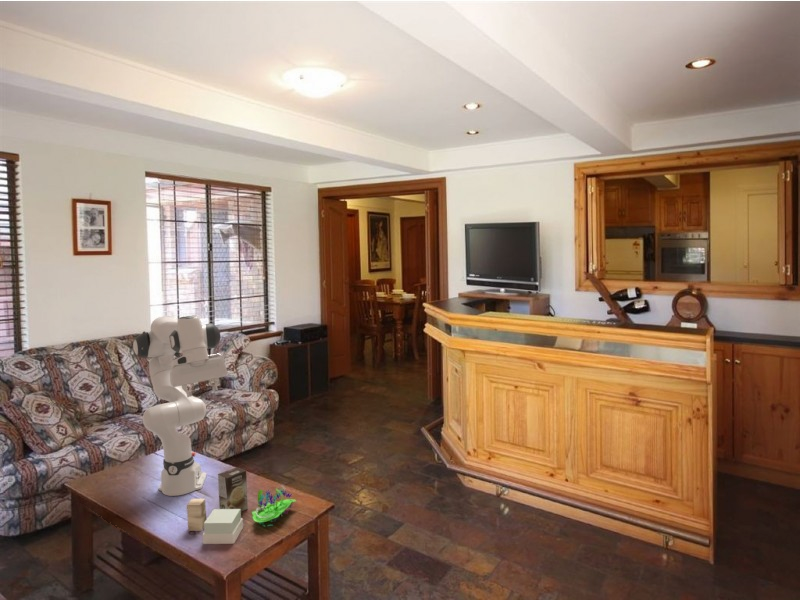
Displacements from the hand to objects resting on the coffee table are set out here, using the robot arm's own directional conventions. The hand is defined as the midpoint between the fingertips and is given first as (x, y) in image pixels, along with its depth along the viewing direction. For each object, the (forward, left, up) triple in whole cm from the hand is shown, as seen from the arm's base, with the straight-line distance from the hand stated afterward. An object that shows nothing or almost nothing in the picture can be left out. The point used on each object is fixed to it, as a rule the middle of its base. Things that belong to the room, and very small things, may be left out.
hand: (202, 393), depth 200 cm
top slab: (+9, +8, -47) cm, 49 cm away
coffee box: (-9, +6, -51) cm, 52 cm away
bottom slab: (+9, +8, -51) cm, 52 cm away
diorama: (-3, +23, -51) cm, 56 cm away
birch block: (+3, -4, -51) cm, 51 cm away
